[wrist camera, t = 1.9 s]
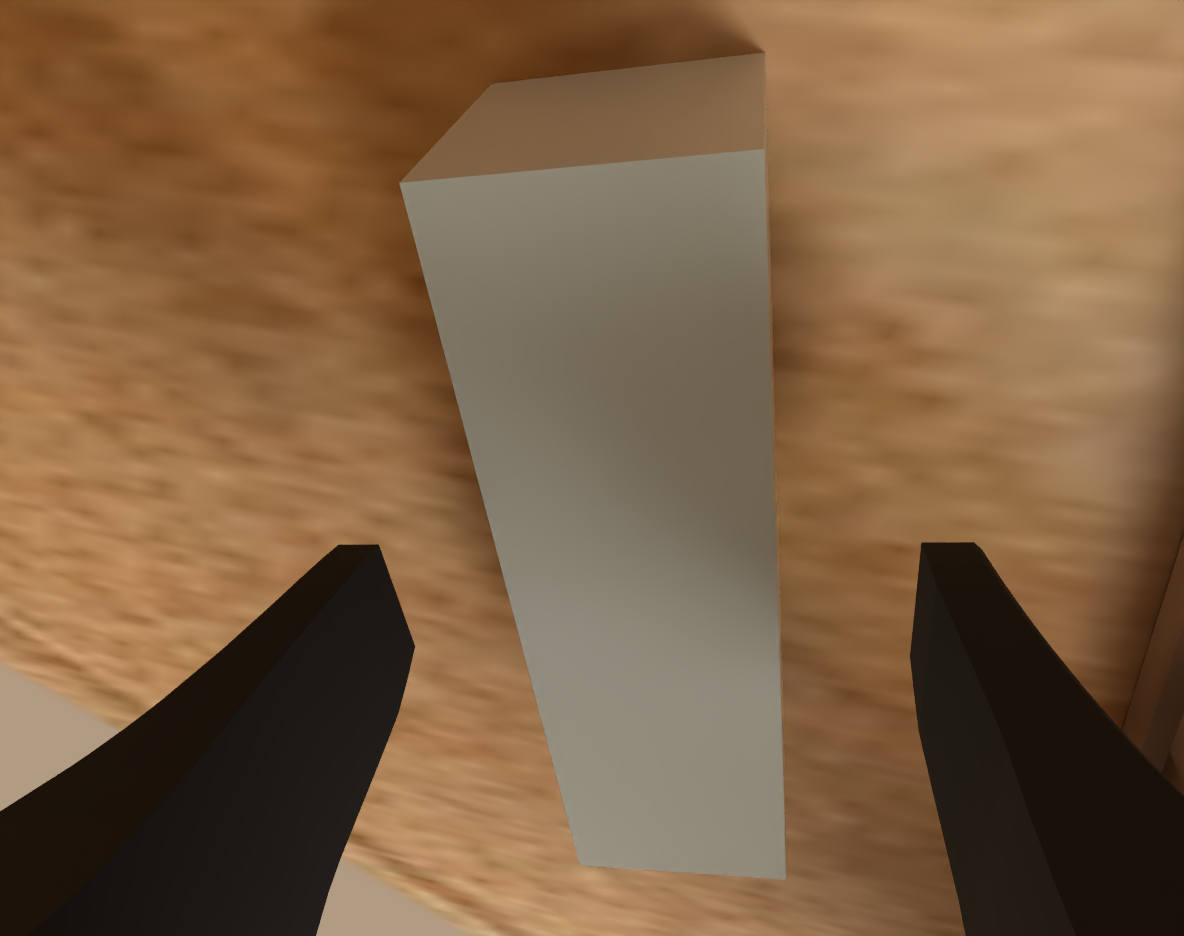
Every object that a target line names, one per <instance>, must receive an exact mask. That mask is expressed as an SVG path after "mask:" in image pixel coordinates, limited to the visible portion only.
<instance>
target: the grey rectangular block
mask: <svg viewBox="0 0 1184 936" xmlns="http://www.w3.org/2000/svg"><path fill="white" fill-rule="evenodd" d="M399 184H400V188H401V192H402V195H403V199H404V203H405V207H406V210H407V214H408V218H409V222H410V226H411V229H412V233H413V237H414V241H415V244H416V248H417V252H418V256H419V260H420V263H421V267H422V271H423V275H424V278H425V282H426V286H427V290H428V294H429V297H430V301H431V305H432V309H433V312H434V316H435V320H436V324H437V328H438V331H439V335H440V339H441V343H442V347H443V350H444V354H445V358H446V362H447V365H448V369H449V373H450V377H451V381H452V384H453V388H454V392H455V396H456V399H457V403H458V407H459V411H460V415H461V418H462V422H463V426H464V430H465V433H466V437H467V441H468V445H469V449H470V452H471V456H472V460H473V464H474V467H475V471H476V475H477V479H478V483H479V486H480V490H481V494H482V498H483V501H484V505H485V509H486V513H487V517H488V520H489V524H490V528H491V532H492V535H493V539H494V543H495V547H496V551H497V554H498V558H499V562H500V566H501V569H502V573H503V577H504V581H505V585H506V588H507V592H508V596H509V600H510V603H511V607H512V611H513V615H514V619H515V622H516V626H517V630H518V634H519V637H520V641H521V645H522V649H523V653H524V656H525V660H526V664H527V668H528V672H529V675H530V679H531V683H532V687H533V690H534V694H535V698H536V702H537V706H538V709H539V713H540V717H541V721H542V724H543V728H544V732H545V736H546V740H547V743H548V747H549V751H550V755H551V758H552V762H553V766H554V770H555V774H556V777H557V781H558V785H559V789H560V792H561V796H562V800H563V804H564V808H565V811H566V815H567V819H568V823H569V826H570V830H571V834H572V838H573V842H574V845H575V849H576V853H577V857H578V860H579V864H580V866H594V867H609V868H624V869H638V870H653V871H667V872H682V873H696V874H711V875H726V876H740V877H755V878H769V879H784V880H786V839H785V781H784V724H783V679H782V643H781V608H780V572H779V536H778V501H777V465H776V429H775V394H774V358H773V322H772V287H771V251H770V215H769V180H768V144H767V108H766V73H765V52H763V53H755V54H746V55H737V56H728V57H720V58H711V59H702V60H693V61H685V62H676V63H667V64H658V65H650V66H641V67H632V68H624V69H615V70H606V71H597V72H589V73H580V74H571V75H562V76H554V77H545V78H536V79H527V80H519V81H510V82H501V83H492V84H491V85H490V86H489V87H488V88H487V89H486V90H485V91H484V92H483V93H482V95H481V96H480V97H479V98H478V99H477V100H476V101H475V102H474V103H473V104H472V105H471V106H470V107H469V109H468V110H467V111H466V112H465V113H464V114H463V115H462V116H461V117H460V118H459V119H458V120H457V121H456V122H455V124H454V125H453V126H452V127H451V128H450V129H449V130H448V131H447V132H446V133H445V134H444V135H443V136H442V138H441V139H440V140H439V141H438V142H437V143H436V144H435V145H434V146H433V147H432V148H431V149H430V150H429V151H428V153H427V154H426V155H425V156H424V157H423V158H422V159H421V160H420V161H419V162H418V163H417V164H416V165H415V167H414V168H413V169H412V170H411V171H410V172H409V173H408V174H407V175H406V176H405V177H404V178H403V179H402V181H401V182H400V183H399Z"/></svg>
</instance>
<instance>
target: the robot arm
mask: <svg viewBox="0 0 1184 936" xmlns="http://www.w3.org/2000/svg"><path fill="white" fill-rule="evenodd" d="M414 649H415V645H414V642H413V639H412V636H411V634H410V631H409V628H408V625H407V622H406V620H405V617H404V614H403V611H402V608H401V606H400V603H399V600H398V597H397V594H396V592H395V589H394V586H393V583H392V580H391V578H390V575H389V572H388V569H387V566H386V564H385V561H384V558H383V555H382V552H381V550H380V547H379V545H338V546H337V547H335V548H334V549H333V550H332V551H331V552H329V553H328V554H327V555H326V556H325V557H324V558H322V559H321V560H320V561H319V562H318V563H317V564H316V565H315V566H313V567H312V568H311V569H310V570H309V571H308V572H307V573H306V574H305V575H304V576H303V577H301V578H300V579H299V580H298V581H297V582H296V583H295V584H294V585H293V586H292V587H291V588H289V589H288V590H287V591H286V592H285V593H284V594H283V595H282V596H281V597H280V598H279V599H278V600H276V601H275V602H274V603H273V604H272V605H271V606H270V607H269V608H268V609H267V610H266V611H264V612H263V613H262V614H261V615H260V616H259V617H258V618H257V619H256V620H255V621H253V622H252V623H251V624H250V625H249V626H248V627H247V628H246V629H245V630H243V631H242V632H241V633H240V634H239V635H238V636H237V637H236V638H235V639H233V640H232V641H231V642H230V643H229V644H228V645H227V646H226V647H225V648H223V649H222V650H221V651H220V652H219V653H218V654H216V655H215V656H214V657H213V658H212V659H210V660H209V661H208V662H207V663H206V664H204V665H203V666H202V667H201V668H200V669H198V670H197V671H196V672H195V673H194V674H192V675H191V676H190V677H189V678H188V679H186V680H185V681H184V682H183V683H182V684H180V685H179V686H178V687H177V688H176V689H174V690H173V691H172V692H171V693H170V694H168V695H167V696H166V697H165V698H164V699H162V700H161V701H160V702H159V703H157V704H156V705H155V706H154V707H152V708H151V709H150V710H149V711H147V712H146V713H145V714H143V715H142V716H141V717H139V718H138V719H137V720H135V721H134V722H133V723H131V724H130V725H129V726H127V727H126V728H125V729H123V730H122V731H121V732H119V733H118V734H116V735H115V736H114V737H113V738H111V739H110V740H108V741H107V742H106V743H104V744H103V745H101V746H100V747H98V748H97V749H96V750H94V751H93V752H91V753H90V754H89V755H87V756H86V757H84V758H83V759H81V760H80V761H78V762H77V763H75V764H74V765H72V766H71V767H69V768H68V769H66V770H65V771H63V772H61V773H60V774H58V775H57V776H56V777H54V778H52V779H51V780H49V781H47V782H46V783H44V784H43V785H41V786H39V787H38V788H36V789H35V790H33V791H32V792H30V793H28V794H27V795H25V796H24V797H22V798H21V799H19V800H17V801H16V802H14V803H13V804H11V805H10V806H8V807H6V808H5V809H3V810H2V811H0V936H316V934H317V930H318V927H319V923H320V920H321V916H322V913H323V909H324V906H325V903H326V899H327V896H328V892H329V889H330V886H331V884H332V881H333V878H334V875H335V872H336V870H337V867H338V864H339V861H340V858H341V856H342V853H343V851H344V848H345V846H346V843H347V841H348V839H349V836H350V834H351V831H352V829H353V826H354V824H355V821H356V819H357V816H358V814H359V811H360V809H361V806H362V804H363V801H364V799H365V796H366V794H367V791H368V789H369V786H370V784H371V782H372V779H373V777H374V774H375V772H376V769H377V767H378V764H379V762H380V759H381V757H382V754H383V751H384V749H385V746H386V744H387V741H388V739H389V736H390V734H391V731H392V728H393V726H394V723H395V721H396V718H397V715H398V713H399V709H400V705H401V701H402V698H403V694H404V690H405V687H406V683H407V679H408V674H409V670H410V666H411V662H412V657H413V653H414ZM910 660H911V669H912V678H913V687H914V696H915V704H916V712H917V720H918V728H919V734H920V738H921V743H922V747H923V752H924V756H925V760H926V764H927V769H928V773H929V777H930V781H931V786H932V790H933V794H934V798H935V803H936V807H937V811H938V815H939V819H940V824H941V828H942V832H943V836H944V840H945V845H946V849H947V853H948V857H949V861H950V866H951V870H952V874H953V878H954V882H955V887H956V891H957V895H958V899H959V904H960V909H961V914H962V919H963V924H964V929H965V934H966V936H1184V795H1183V794H1182V793H1181V792H1180V791H1179V790H1178V789H1177V788H1176V787H1175V786H1174V785H1173V784H1172V783H1171V782H1170V781H1169V780H1168V779H1167V778H1166V777H1165V776H1164V775H1163V774H1162V773H1161V772H1160V771H1159V770H1158V769H1157V768H1156V767H1155V766H1154V765H1153V764H1152V763H1151V762H1150V760H1149V759H1148V758H1147V757H1146V756H1145V755H1144V754H1143V753H1142V752H1141V751H1140V750H1139V749H1138V748H1137V747H1136V746H1135V745H1134V744H1133V743H1132V741H1131V740H1130V739H1129V738H1128V737H1127V736H1126V735H1125V734H1124V733H1123V731H1122V730H1121V729H1120V728H1119V727H1118V726H1117V725H1116V724H1115V723H1114V721H1113V720H1112V719H1111V718H1110V717H1109V716H1108V715H1107V714H1106V713H1105V711H1104V710H1103V709H1102V708H1101V707H1100V706H1099V705H1098V703H1097V702H1096V701H1095V700H1094V699H1093V698H1092V696H1091V695H1090V694H1089V693H1088V692H1087V691H1086V689H1085V688H1084V687H1083V686H1082V685H1081V684H1080V682H1079V681H1078V680H1077V679H1076V677H1075V676H1074V675H1073V674H1072V672H1071V671H1070V670H1069V669H1068V667H1067V666H1066V665H1065V664H1064V662H1063V661H1062V660H1061V659H1060V657H1059V656H1058V655H1057V654H1056V653H1055V651H1054V650H1053V649H1052V648H1051V646H1050V645H1049V644H1048V643H1047V641H1046V640H1045V639H1044V637H1043V636H1042V635H1041V633H1040V632H1039V631H1038V629H1037V628H1036V627H1035V626H1034V624H1033V623H1032V621H1031V620H1030V619H1029V617H1028V616H1027V615H1026V613H1025V612H1024V611H1023V609H1022V608H1021V606H1020V605H1019V604H1018V602H1017V601H1016V600H1015V598H1014V597H1013V595H1012V594H1011V592H1010V591H1009V590H1008V588H1007V587H1006V585H1005V584H1004V582H1003V581H1002V579H1001V578H1000V576H999V575H998V573H997V572H996V570H995V569H994V567H993V566H992V564H991V563H990V561H989V560H988V558H987V557H986V555H985V553H984V552H983V550H982V549H981V548H980V547H979V546H977V545H976V544H975V543H974V542H963V543H921V553H920V563H919V573H918V583H917V593H916V603H915V613H914V623H913V633H912V643H911V653H910Z"/></svg>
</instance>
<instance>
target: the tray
mask: <svg viewBox="0 0 1184 936" xmlns="http://www.w3.org/2000/svg"><path fill="white" fill-rule="evenodd" d="M1122 731H1123V733H1124V734H1125V735H1126V736H1127V737H1128V738H1129V739H1130V740H1131V741H1132V743H1133V744H1134V745H1135V746H1136V747H1137V748H1138V749H1139V750H1140V751H1141V752H1142V753H1143V754H1144V755H1145V756H1146V757H1147V758H1148V759H1149V760H1150V762H1151V763H1152V764H1153V765H1154V766H1155V767H1156V768H1157V769H1158V770H1159V771H1160V772H1161V773H1162V774H1163V775H1164V776H1165V777H1166V778H1167V779H1168V780H1169V781H1170V782H1171V783H1172V784H1173V785H1174V786H1175V787H1176V788H1177V789H1178V790H1179V791H1180V792H1181V793H1182V794H1183V795H1184V536H1183V539H1182V542H1181V545H1180V548H1179V552H1178V555H1177V558H1176V561H1175V564H1174V567H1173V571H1172V574H1171V577H1170V580H1169V583H1168V586H1167V590H1166V593H1165V596H1164V599H1163V602H1162V605H1161V609H1160V612H1159V615H1158V618H1157V621H1156V624H1155V628H1154V631H1153V634H1152V637H1151V640H1150V643H1149V647H1148V650H1147V653H1146V656H1145V659H1144V662H1143V666H1142V669H1141V672H1140V675H1139V678H1138V681H1137V685H1136V688H1135V691H1134V694H1133V697H1132V700H1131V704H1130V707H1129V710H1128V713H1127V716H1126V719H1125V723H1124V726H1123V729H1122Z"/></svg>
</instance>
